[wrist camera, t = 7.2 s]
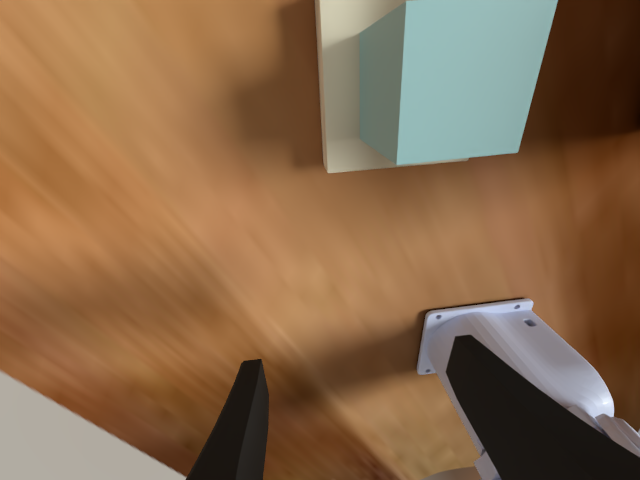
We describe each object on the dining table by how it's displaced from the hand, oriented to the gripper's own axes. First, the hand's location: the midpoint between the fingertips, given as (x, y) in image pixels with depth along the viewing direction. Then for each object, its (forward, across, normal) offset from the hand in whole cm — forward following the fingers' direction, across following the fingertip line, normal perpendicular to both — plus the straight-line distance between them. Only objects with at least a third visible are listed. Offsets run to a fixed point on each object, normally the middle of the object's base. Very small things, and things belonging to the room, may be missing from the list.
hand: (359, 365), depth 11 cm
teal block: (+8, -4, -9) cm, 13 cm away
